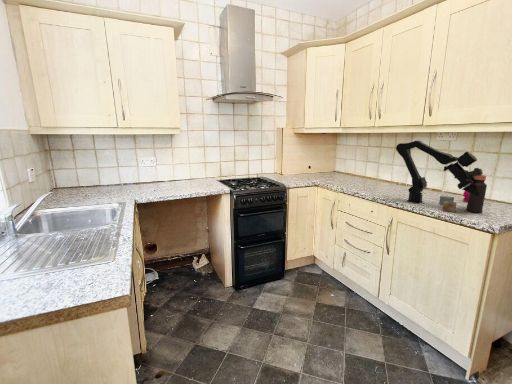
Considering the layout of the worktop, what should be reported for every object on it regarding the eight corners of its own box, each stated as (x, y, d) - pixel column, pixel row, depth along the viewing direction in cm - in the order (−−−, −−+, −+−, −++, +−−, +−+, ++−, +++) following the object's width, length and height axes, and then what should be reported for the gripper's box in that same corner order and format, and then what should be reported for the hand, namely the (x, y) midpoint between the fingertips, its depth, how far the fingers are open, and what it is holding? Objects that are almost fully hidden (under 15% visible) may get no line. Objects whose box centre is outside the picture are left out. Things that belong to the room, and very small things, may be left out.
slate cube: (439, 204, 163) (440, 196, 162) (444, 203, 165) (445, 195, 164) (447, 206, 159) (448, 197, 158) (453, 205, 160) (454, 197, 159)
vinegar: (475, 209, 149) (481, 174, 145) (485, 213, 143) (492, 176, 139) (463, 209, 150) (469, 174, 146) (472, 212, 143) (478, 176, 139)
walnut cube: (442, 211, 148) (443, 202, 147) (444, 209, 152) (445, 200, 151) (453, 212, 145) (454, 204, 144) (455, 211, 148) (456, 202, 147)
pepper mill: (463, 199, 173) (468, 169, 169) (477, 201, 168) (483, 170, 164) (460, 201, 168) (465, 170, 164) (475, 203, 163) (480, 171, 159)
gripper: (468, 164, 138) (492, 188, 132) (477, 161, 149) (499, 183, 144) (448, 177, 145) (469, 200, 139) (458, 174, 157) (478, 195, 151)
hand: (480, 194), depth 143 cm, fingers closed on vinegar, 6 cm apart
